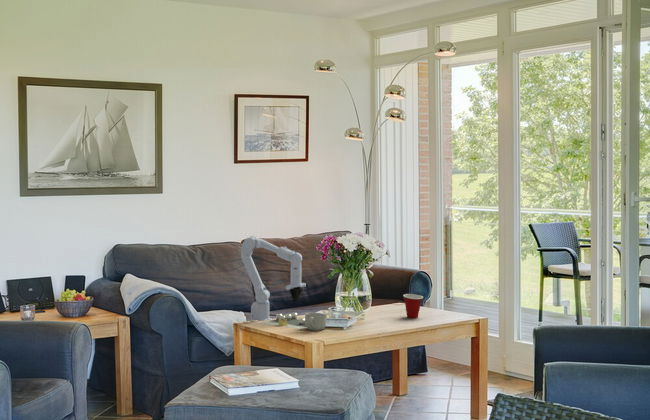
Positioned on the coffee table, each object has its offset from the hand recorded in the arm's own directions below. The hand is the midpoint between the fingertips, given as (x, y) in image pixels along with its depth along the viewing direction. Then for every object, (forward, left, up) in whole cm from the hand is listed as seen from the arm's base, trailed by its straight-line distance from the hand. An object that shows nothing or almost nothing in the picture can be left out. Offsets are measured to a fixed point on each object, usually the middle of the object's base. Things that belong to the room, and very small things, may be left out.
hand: (295, 301), depth 446 cm
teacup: (+23, -14, -10) cm, 29 cm away
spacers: (+4, -3, -10) cm, 11 cm away
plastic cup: (+42, +49, -10) cm, 65 cm away
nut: (+4, -15, -10) cm, 18 cm away
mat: (+4, -8, -10) cm, 13 cm away
